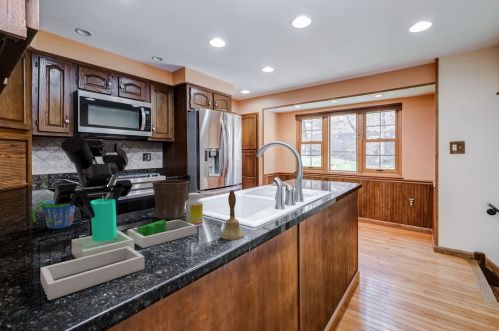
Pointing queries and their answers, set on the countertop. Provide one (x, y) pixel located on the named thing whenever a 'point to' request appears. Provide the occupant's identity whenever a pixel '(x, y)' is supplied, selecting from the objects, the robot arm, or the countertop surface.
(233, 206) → the hand bell
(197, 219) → the supplement bottle
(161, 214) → the plant pot
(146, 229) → the pipe clamp
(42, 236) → the countertop surface
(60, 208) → the snack cup
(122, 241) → the bin
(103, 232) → the candle
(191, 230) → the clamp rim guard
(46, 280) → the grey rectangular frame
